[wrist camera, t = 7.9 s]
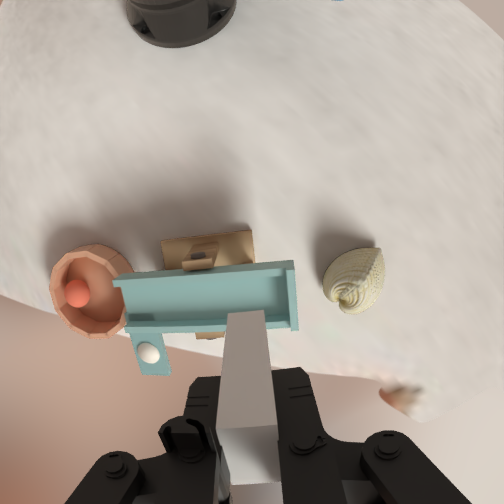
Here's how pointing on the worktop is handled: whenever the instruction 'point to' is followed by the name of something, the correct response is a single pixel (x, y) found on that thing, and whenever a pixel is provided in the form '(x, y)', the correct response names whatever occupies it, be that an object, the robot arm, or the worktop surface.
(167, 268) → the stand
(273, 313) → the lever
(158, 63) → the worktop surface
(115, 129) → the worktop surface
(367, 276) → the seashell
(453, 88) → the worktop surface
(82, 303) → the ball
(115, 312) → the bowl
